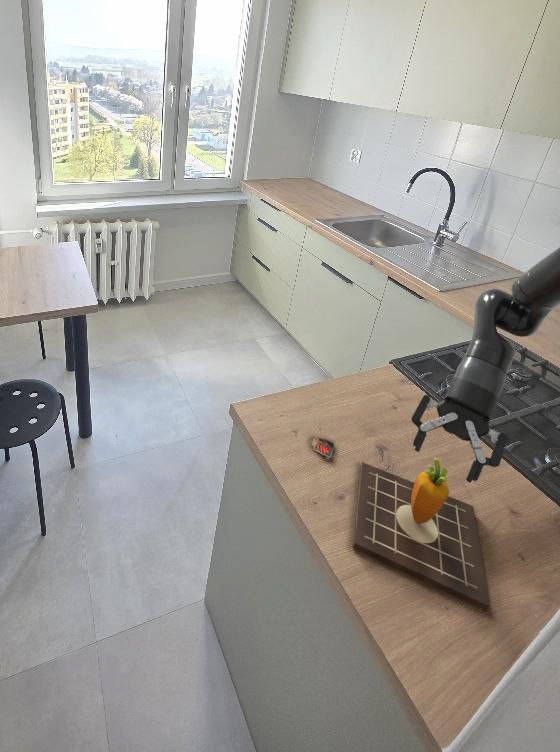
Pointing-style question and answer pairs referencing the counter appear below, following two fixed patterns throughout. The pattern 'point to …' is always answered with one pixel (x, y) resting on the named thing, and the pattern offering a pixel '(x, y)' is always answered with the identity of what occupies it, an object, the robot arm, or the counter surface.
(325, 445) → the matchbox
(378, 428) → the counter surface
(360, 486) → the game board
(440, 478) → the carrot
